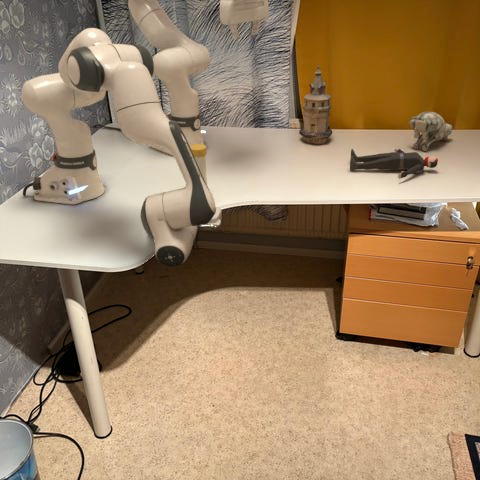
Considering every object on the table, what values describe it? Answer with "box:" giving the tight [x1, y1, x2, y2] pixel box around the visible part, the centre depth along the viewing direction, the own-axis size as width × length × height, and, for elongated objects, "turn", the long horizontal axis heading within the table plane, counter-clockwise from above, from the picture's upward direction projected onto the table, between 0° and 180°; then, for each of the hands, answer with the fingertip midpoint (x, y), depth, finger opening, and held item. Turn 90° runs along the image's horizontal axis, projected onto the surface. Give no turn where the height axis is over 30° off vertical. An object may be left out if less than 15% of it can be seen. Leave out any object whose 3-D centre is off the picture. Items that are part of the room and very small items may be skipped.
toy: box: [349, 148, 439, 180], centre depth 190 cm, size 26×6×30 cm
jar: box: [195, 154, 208, 185], centre depth 171 cm, size 5×5×16 cm
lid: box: [190, 144, 208, 157], centre depth 168 cm, size 5×5×2 cm
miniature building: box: [298, 65, 333, 145], centre depth 213 cm, size 13×14×30 cm
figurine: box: [408, 111, 453, 152], centre depth 210 cm, size 10×19×20 cm
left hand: (189, 204), depth 157 cm, fingers open, 8 cm apart
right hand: (245, 36), depth 174 cm, fingers open, 8 cm apart
